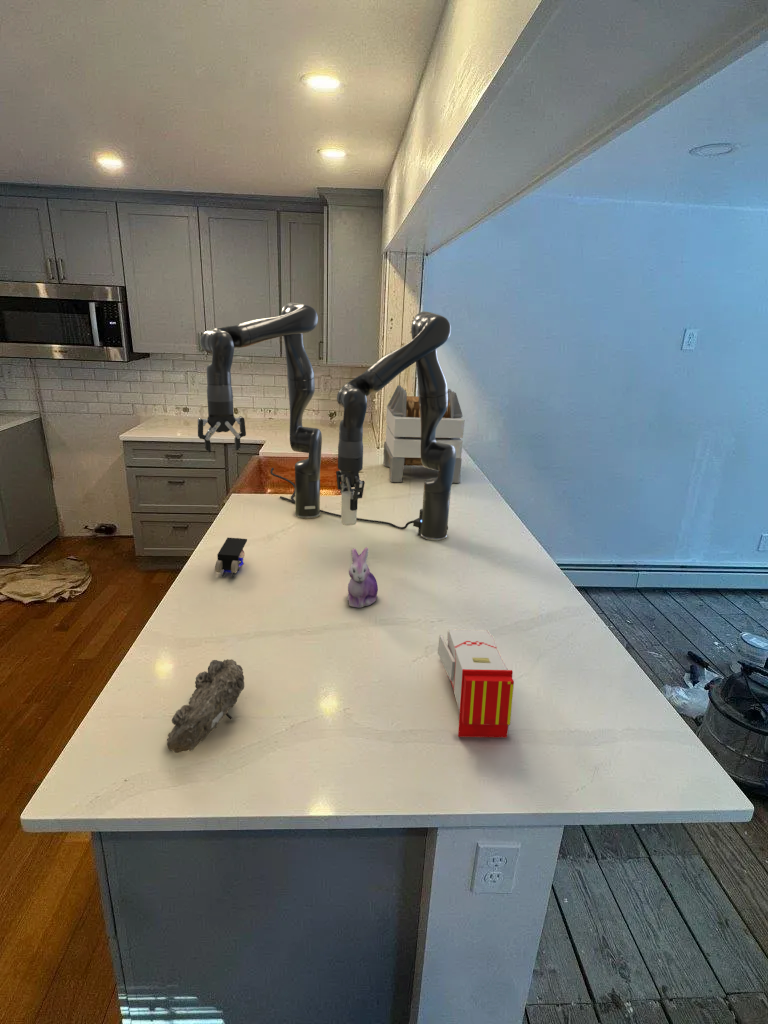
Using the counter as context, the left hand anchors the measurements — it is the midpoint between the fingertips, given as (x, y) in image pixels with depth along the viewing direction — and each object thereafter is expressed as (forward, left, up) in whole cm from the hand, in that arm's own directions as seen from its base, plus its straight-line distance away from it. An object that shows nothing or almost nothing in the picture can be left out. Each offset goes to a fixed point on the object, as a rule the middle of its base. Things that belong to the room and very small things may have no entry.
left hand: (223, 450), depth 178 cm
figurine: (+54, +24, -30) cm, 67 cm away
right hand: (+25, +33, -14) cm, 44 cm away
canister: (+25, +33, -20) cm, 46 cm away
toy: (+98, +30, -30) cm, 107 cm away
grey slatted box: (-51, +102, -30) cm, 118 cm away
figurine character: (+23, -3, -30) cm, 38 cm away
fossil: (+85, -20, -30) cm, 93 cm away
